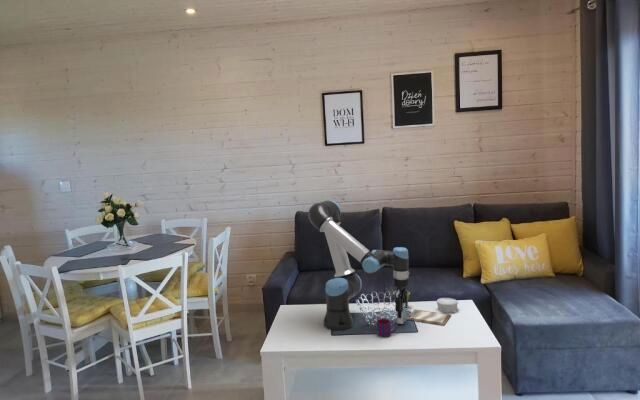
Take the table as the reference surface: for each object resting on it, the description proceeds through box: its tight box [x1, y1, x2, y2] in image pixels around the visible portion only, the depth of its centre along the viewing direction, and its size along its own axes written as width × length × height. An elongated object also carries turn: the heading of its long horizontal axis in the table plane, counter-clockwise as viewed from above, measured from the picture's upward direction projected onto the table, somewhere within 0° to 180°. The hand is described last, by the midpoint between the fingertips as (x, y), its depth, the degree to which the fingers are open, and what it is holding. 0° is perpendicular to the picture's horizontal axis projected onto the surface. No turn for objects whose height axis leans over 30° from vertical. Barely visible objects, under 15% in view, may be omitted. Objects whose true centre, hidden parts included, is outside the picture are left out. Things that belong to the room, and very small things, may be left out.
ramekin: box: [436, 297, 459, 314], centre depth 244 cm, size 11×11×5 cm
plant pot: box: [392, 290, 411, 309], centre depth 251 cm, size 9×9×9 cm
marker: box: [396, 303, 407, 324], centre depth 228 cm, size 3×3×10 cm
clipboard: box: [406, 309, 452, 327], centre depth 234 cm, size 20×15×1 cm
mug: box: [376, 318, 398, 338], centre depth 216 cm, size 7×10×7 cm
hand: (401, 321), depth 228 cm, fingers closed on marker, 3 cm apart
